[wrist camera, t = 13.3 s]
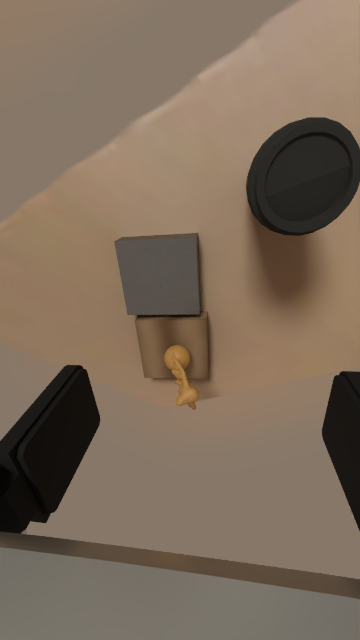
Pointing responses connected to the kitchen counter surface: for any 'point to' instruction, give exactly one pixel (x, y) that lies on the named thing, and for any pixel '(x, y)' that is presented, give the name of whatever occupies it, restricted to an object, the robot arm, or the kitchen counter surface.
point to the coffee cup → (304, 176)
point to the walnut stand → (173, 343)
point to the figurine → (181, 375)
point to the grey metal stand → (160, 274)
